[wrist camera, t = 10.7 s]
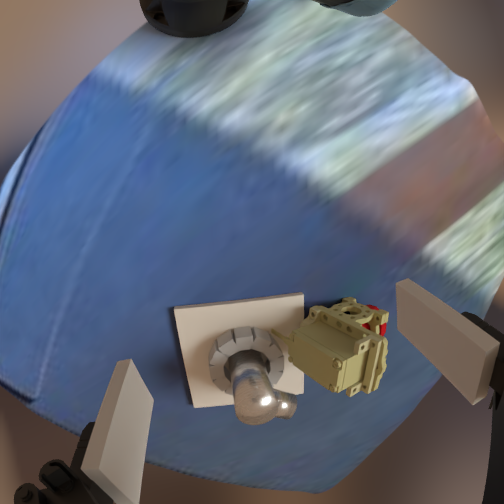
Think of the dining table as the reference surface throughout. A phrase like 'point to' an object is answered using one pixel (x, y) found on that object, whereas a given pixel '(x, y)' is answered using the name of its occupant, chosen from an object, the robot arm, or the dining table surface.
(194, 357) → the plate
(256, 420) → the elbow
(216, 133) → the dining table surface
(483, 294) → the dining table surface
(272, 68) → the dining table surface
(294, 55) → the dining table surface
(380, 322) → the mechanical component
